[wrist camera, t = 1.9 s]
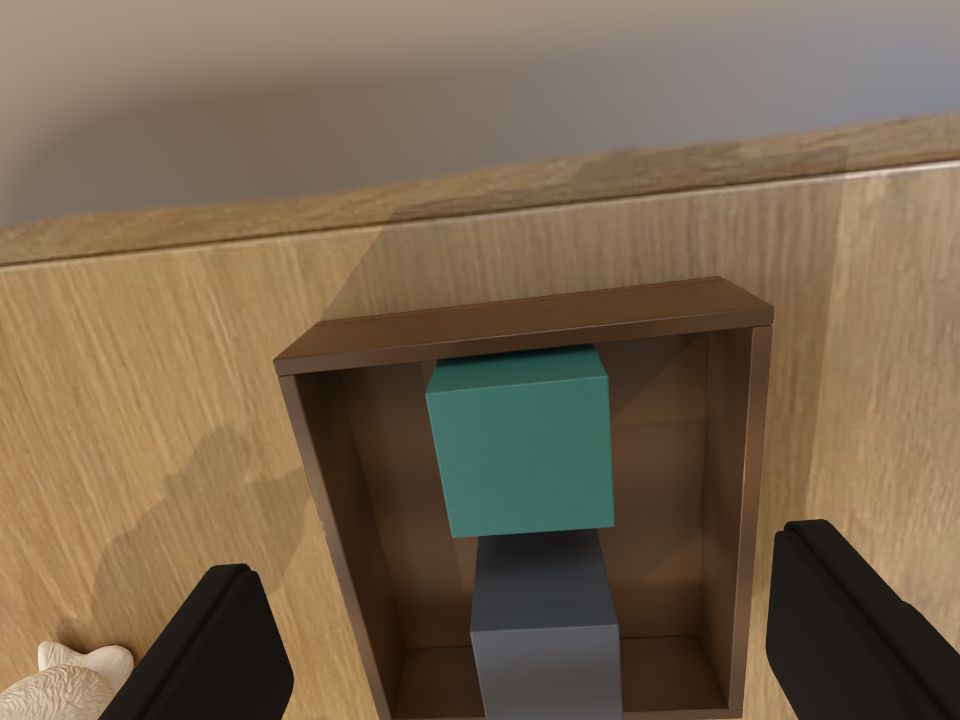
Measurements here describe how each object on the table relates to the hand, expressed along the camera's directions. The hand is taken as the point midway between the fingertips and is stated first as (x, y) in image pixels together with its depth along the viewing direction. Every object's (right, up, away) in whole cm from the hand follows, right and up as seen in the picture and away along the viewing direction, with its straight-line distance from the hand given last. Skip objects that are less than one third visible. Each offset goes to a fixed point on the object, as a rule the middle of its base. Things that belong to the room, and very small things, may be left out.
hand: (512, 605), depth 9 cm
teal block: (+1, +3, +8) cm, 8 cm away
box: (+1, 0, +10) cm, 10 cm away
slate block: (+2, -4, +11) cm, 11 cm away
